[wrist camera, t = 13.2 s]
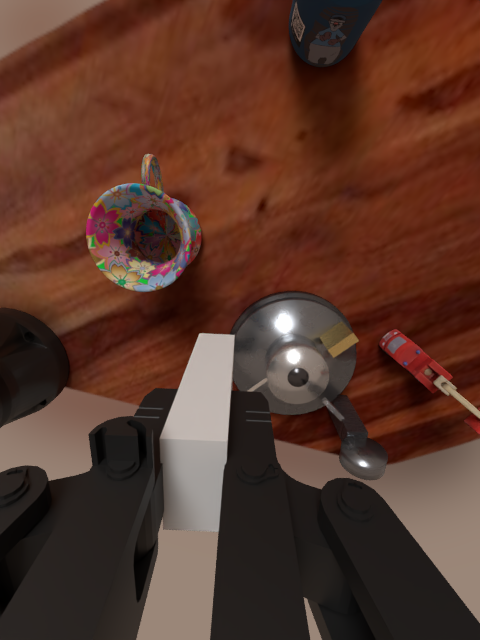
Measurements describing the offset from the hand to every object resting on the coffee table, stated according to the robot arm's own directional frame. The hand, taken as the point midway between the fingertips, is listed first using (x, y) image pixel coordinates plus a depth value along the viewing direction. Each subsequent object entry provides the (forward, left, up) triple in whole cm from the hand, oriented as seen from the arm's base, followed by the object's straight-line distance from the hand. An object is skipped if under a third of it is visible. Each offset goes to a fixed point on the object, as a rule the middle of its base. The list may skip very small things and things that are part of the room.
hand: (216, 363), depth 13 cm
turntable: (+8, -11, -25) cm, 28 cm away
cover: (+8, -11, -23) cm, 27 cm away
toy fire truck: (+25, -12, -26) cm, 38 cm away
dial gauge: (+15, -17, -26) cm, 34 cm away
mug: (-8, +5, -26) cm, 28 cm away
